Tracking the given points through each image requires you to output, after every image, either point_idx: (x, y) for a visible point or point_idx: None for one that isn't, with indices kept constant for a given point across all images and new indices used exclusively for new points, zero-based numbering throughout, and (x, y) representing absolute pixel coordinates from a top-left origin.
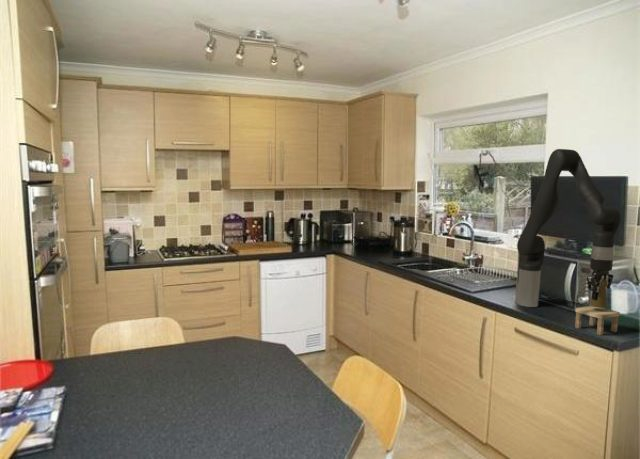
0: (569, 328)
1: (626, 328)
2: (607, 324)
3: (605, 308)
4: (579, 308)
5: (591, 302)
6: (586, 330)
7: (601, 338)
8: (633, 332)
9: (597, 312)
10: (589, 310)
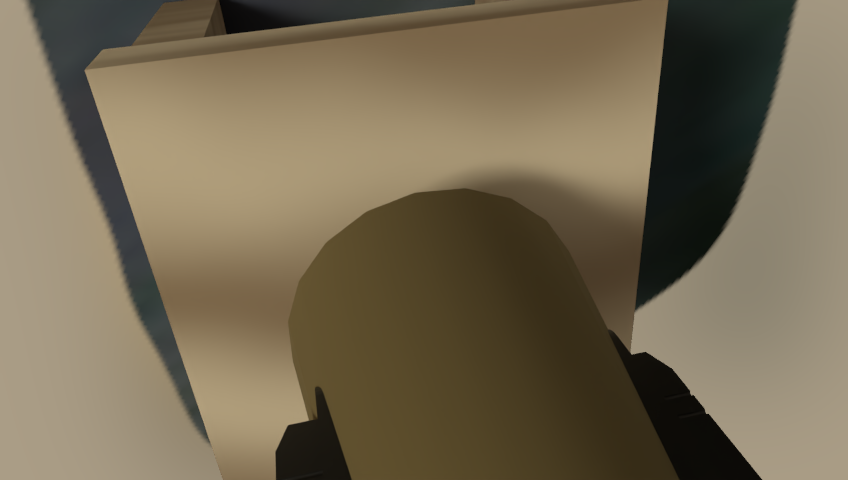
0: (35, 17)
1: (716, 199)
2: (690, 38)
3: (641, 232)
4: (154, 120)
5: (302, 351)
6: None
7: (173, 372)
8: (645, 298)
9: (288, 378)
10: (248, 272)
